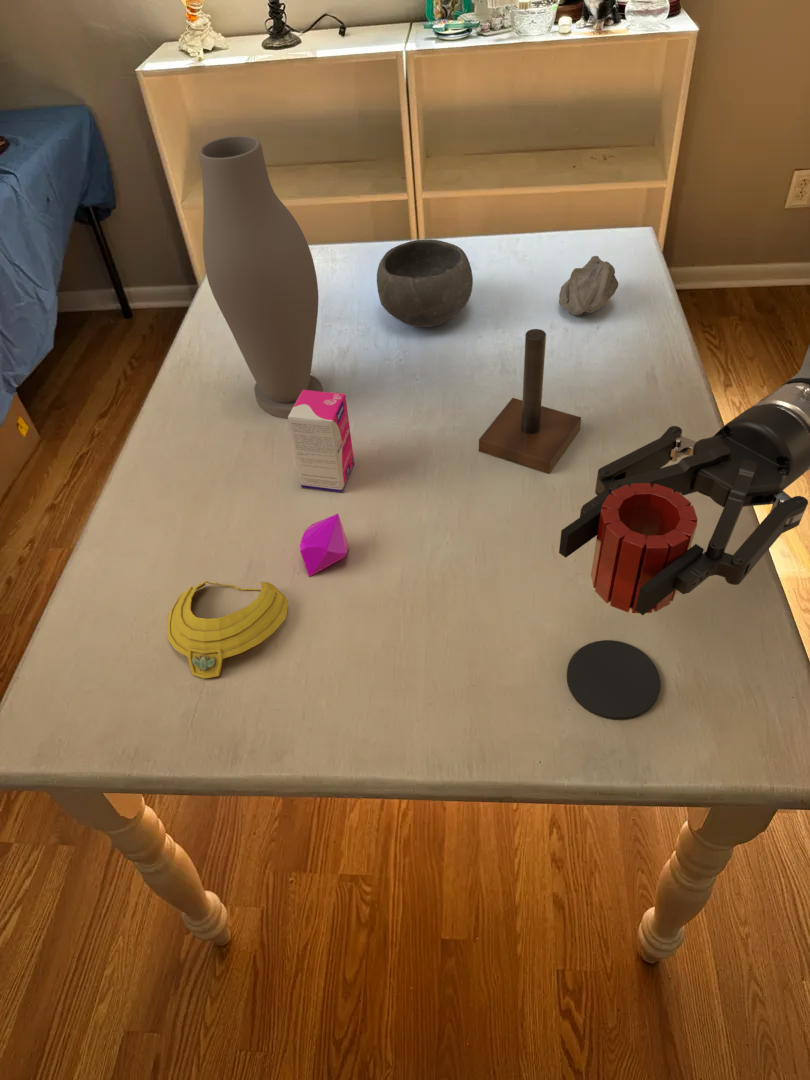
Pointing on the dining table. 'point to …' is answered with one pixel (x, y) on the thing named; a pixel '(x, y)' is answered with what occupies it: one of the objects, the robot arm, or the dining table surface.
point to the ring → (639, 541)
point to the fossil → (589, 287)
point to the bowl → (424, 282)
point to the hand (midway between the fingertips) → (601, 571)
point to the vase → (259, 271)
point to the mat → (613, 679)
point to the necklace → (223, 628)
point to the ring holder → (531, 419)
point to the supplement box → (322, 440)
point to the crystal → (323, 544)
